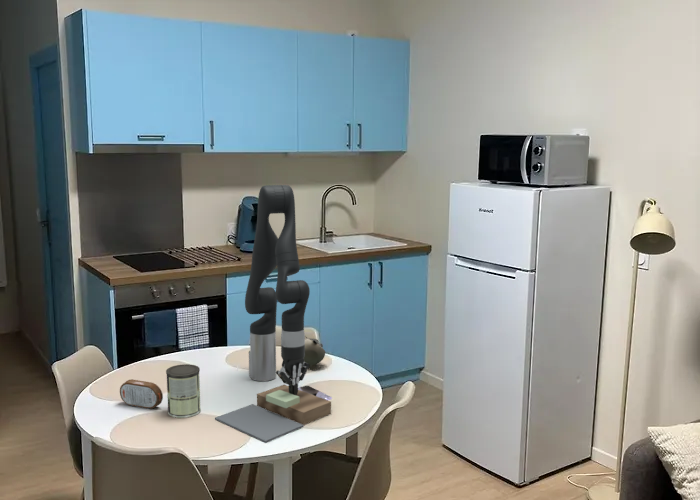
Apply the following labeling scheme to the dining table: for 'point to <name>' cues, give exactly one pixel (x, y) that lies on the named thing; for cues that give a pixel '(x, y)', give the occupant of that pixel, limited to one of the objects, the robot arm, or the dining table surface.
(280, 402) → the sponge
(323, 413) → the walnut stand
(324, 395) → the mobile phone
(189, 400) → the coffee can
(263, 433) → the mat
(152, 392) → the tin
